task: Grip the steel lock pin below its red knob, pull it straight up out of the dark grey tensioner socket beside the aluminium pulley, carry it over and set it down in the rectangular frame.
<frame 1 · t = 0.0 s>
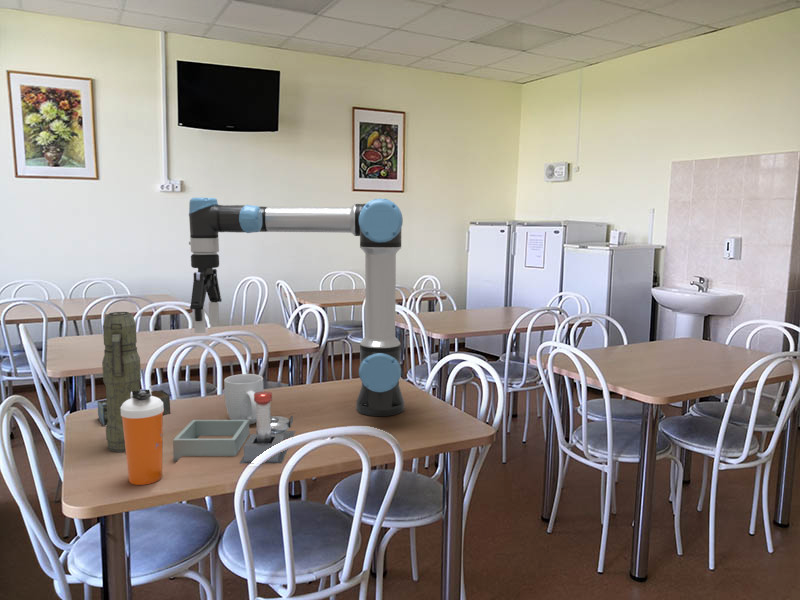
hand: (207, 328, 170), 28 cm above the table, fingers open, 13 cm apart
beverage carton: (135, 418, 179), on the table
mug: (246, 423, 174), on the table
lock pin: (264, 455, 146), point 1 cm above the table, touching tensioner
tensioner: (269, 451, 152), on the table
rectangular frame: (213, 450, 153), on the table
thermos: (126, 446, 155), on the table
shaker bottle: (145, 479, 136), on the table
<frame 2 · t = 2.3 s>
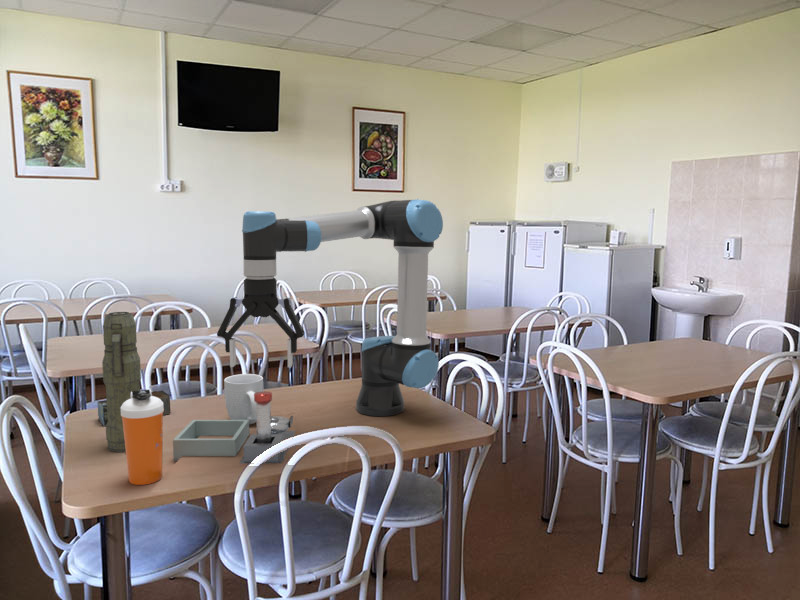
hand: (261, 366, 143), 24 cm above the table, fingers open, 13 cm apart
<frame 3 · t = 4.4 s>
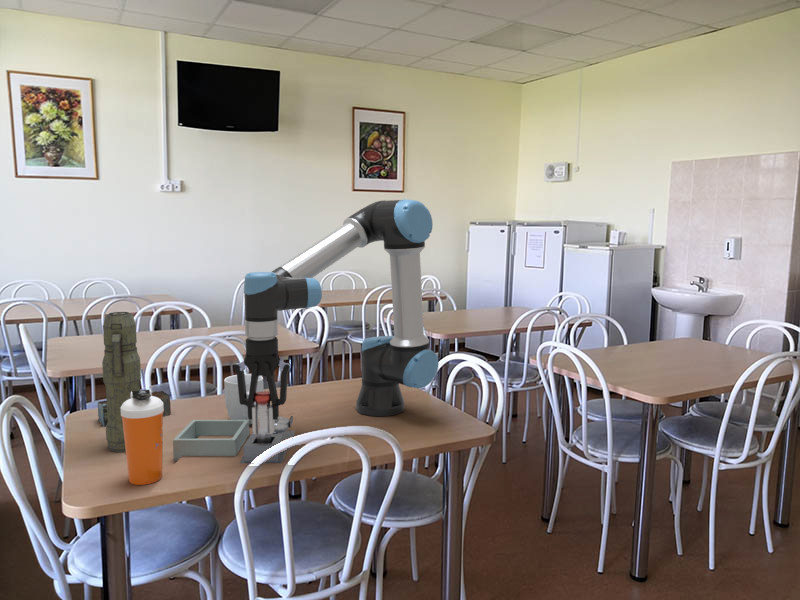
hand: (263, 431, 145), 8 cm above the table, fingers closed on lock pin, 3 cm apart
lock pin: (264, 455, 146), point 2 cm above the table, touching gripper, tensioner
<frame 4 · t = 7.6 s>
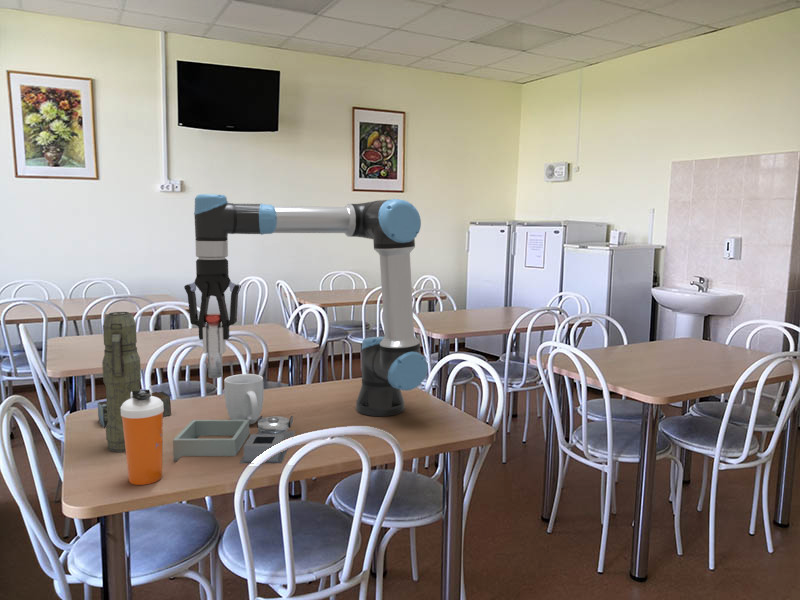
hand: (214, 352, 149), 26 cm above the table, fingers closed on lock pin, 3 cm apart
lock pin: (215, 376, 150), point 20 cm above the table, touching gripper
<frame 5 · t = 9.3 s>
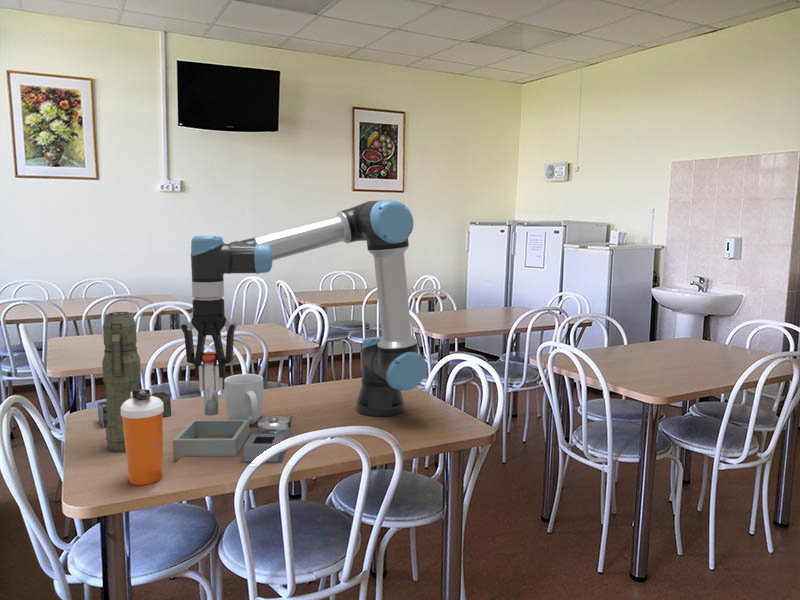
hand: (210, 389, 151), 16 cm above the table, fingers closed on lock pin, 3 cm apart
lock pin: (211, 413, 152), point 10 cm above the table, touching gripper
when the fingers open (8 cm above the table, at t = 10.7 s): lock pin drops 1 cm, resting on rectangular frame.
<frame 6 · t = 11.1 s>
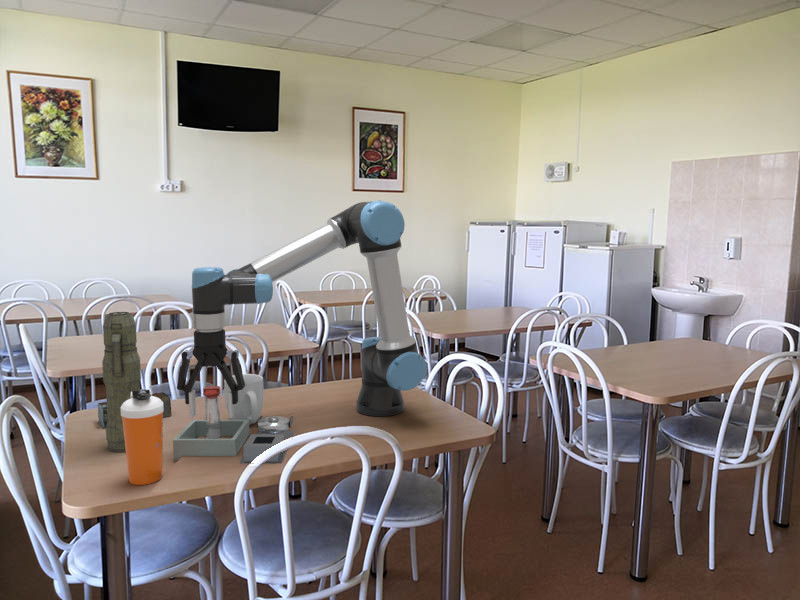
hand: (212, 416, 152), 9 cm above the table, fingers open, 9 cm apart
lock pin: (213, 447, 153), point 1 cm above the table, touching rectangular frame
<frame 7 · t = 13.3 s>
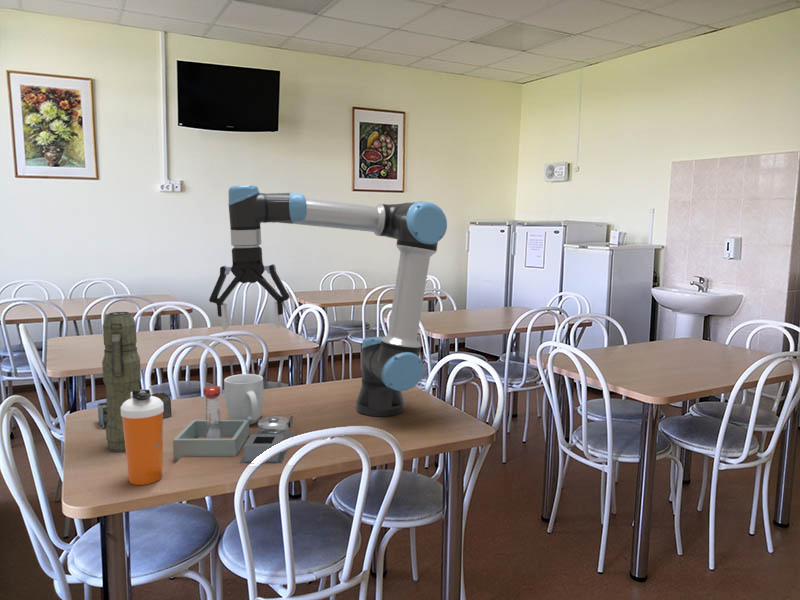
hand: (251, 328, 156), 31 cm above the table, fingers open, 13 cm apart
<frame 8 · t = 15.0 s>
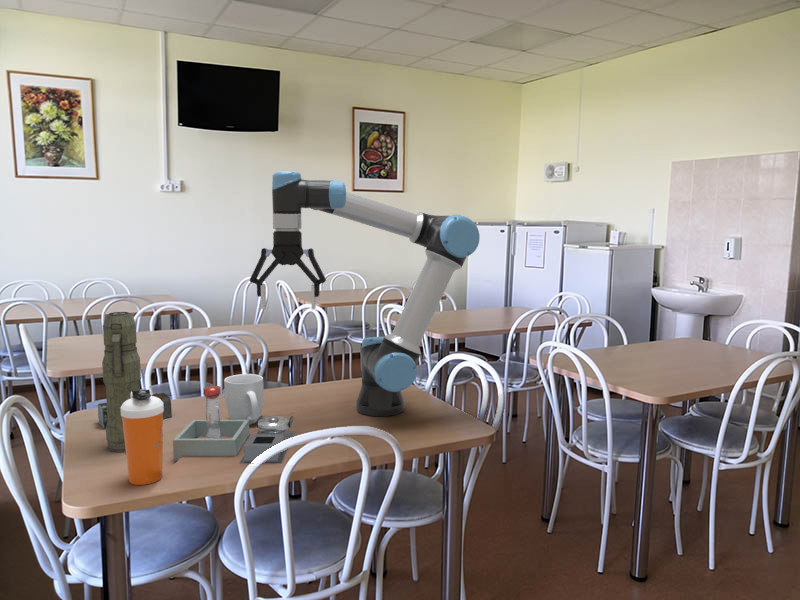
hand: (288, 308, 163), 35 cm above the table, fingers open, 13 cm apart
at the end: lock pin inside the target area on the rectangular frame (0.1 cm from its centre), point 0.8 cm above the rectangular frame's base; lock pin moved 16.2 cm from its start; the gripper is holding nothing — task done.
